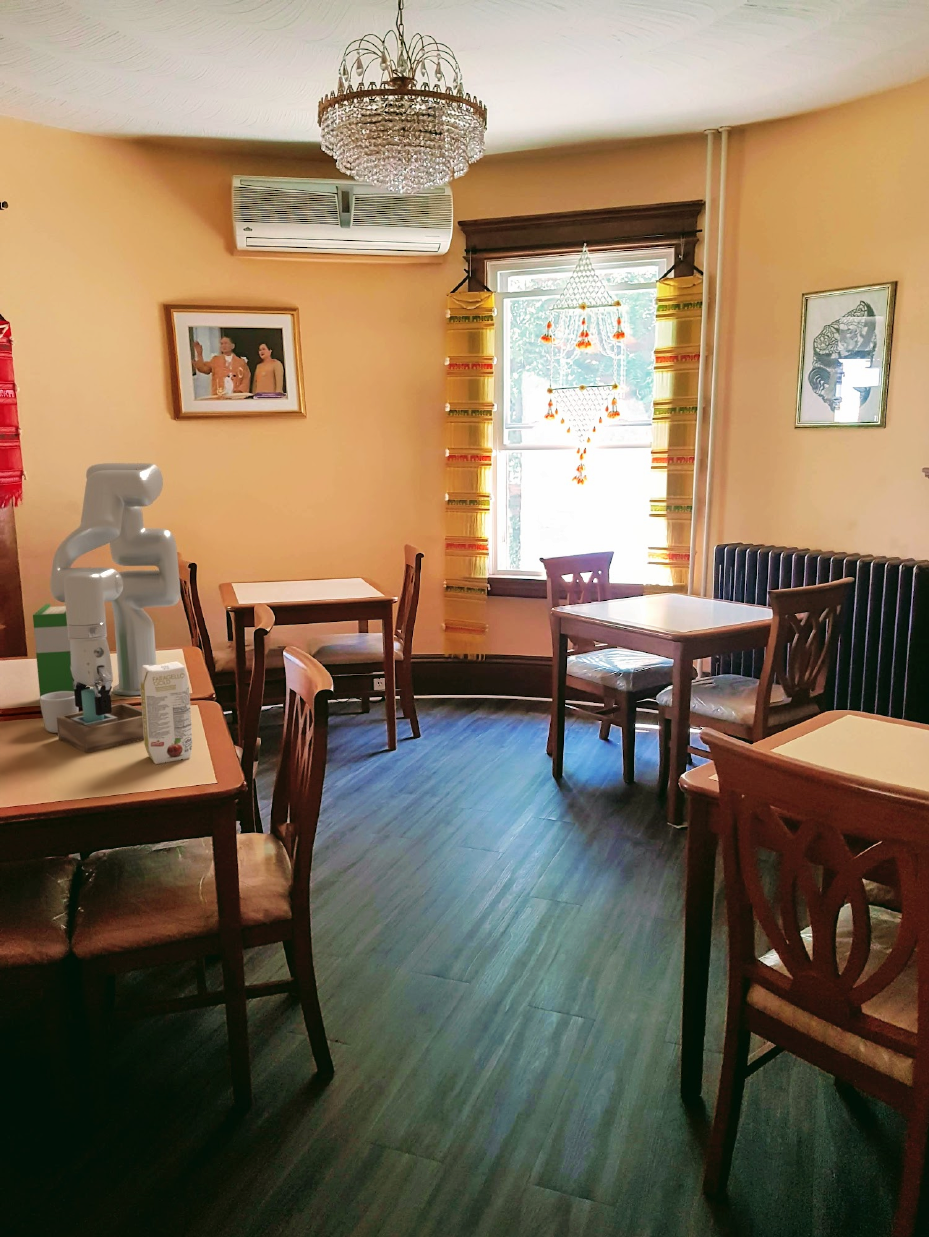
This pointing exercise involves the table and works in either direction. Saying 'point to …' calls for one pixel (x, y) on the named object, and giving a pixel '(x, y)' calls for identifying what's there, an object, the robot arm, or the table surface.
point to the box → (102, 729)
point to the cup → (57, 707)
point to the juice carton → (166, 712)
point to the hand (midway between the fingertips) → (93, 709)
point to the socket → (107, 719)
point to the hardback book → (52, 650)
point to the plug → (89, 706)
